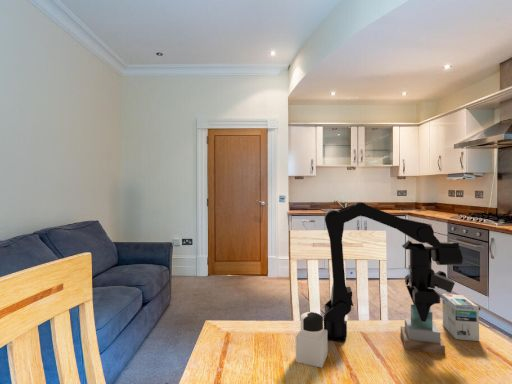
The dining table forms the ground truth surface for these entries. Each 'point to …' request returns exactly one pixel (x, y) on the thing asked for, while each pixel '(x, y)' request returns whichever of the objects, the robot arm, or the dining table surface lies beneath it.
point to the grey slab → (422, 332)
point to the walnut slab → (422, 344)
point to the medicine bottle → (311, 340)
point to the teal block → (417, 321)
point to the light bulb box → (460, 317)
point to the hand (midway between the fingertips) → (420, 316)
